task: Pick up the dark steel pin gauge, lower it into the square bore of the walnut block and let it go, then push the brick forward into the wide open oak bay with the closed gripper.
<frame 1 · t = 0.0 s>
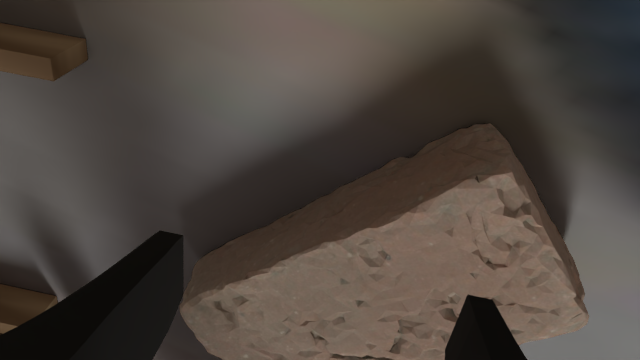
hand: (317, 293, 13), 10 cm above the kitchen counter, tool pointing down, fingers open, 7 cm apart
brick: (370, 250, 26), on the kitchen counter
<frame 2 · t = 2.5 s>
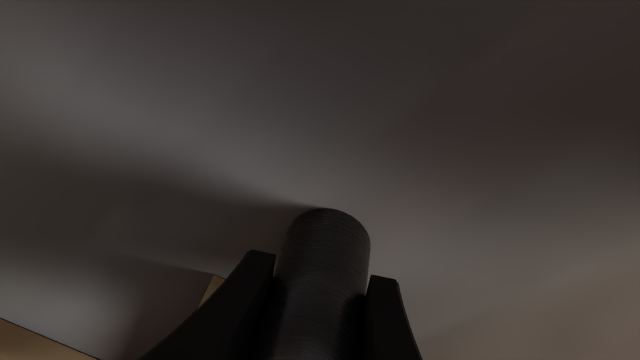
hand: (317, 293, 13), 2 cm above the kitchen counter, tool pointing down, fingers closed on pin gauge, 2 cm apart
pin gauge: (328, 243, 15), on the kitchen counter, touching gripper
when the fingers open (4 cm above the kitchen counter, at t = 5.0 s): pin gauge drops 2 cm, resting in walnut gauge block.
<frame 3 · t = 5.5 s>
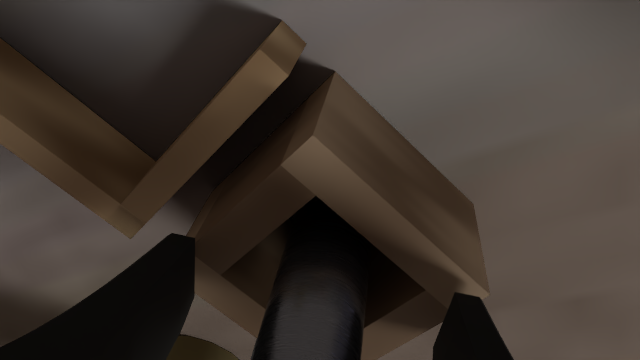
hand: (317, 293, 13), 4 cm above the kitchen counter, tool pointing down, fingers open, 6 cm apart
pin gauge: (338, 197, 17), resting in walnut gauge block
walnut gauge block: (338, 197, 17), on the kitchen counter
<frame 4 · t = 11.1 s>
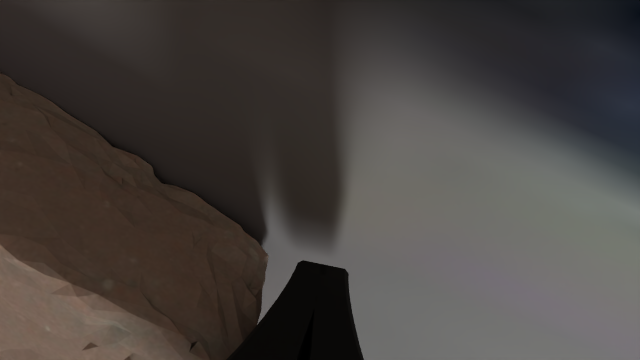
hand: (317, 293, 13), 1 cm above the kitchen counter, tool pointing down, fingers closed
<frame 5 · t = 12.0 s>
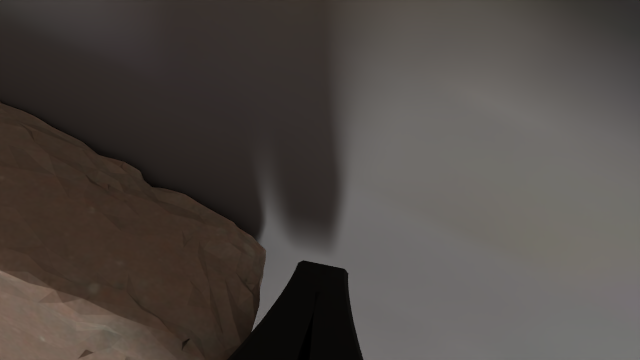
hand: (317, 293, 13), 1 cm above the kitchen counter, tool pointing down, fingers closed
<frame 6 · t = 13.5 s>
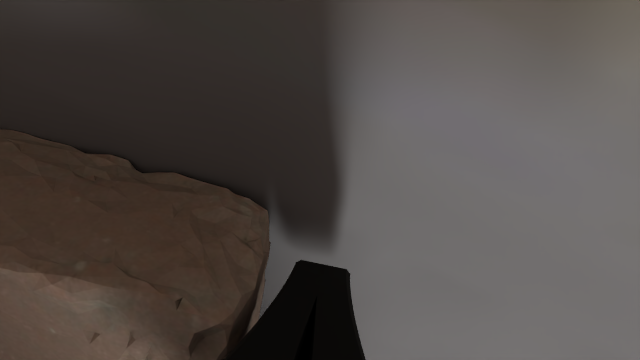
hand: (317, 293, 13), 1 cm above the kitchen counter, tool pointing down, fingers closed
brick: (9, 232, 16), on the kitchen counter, touching gripper
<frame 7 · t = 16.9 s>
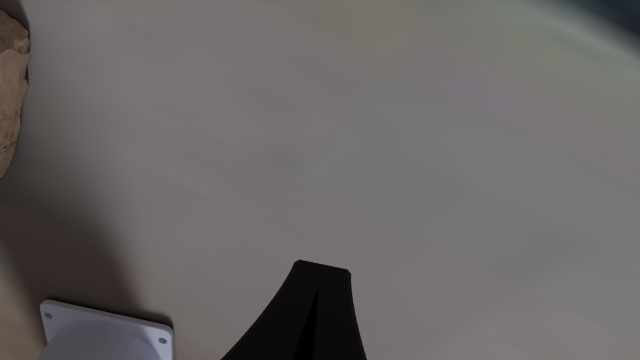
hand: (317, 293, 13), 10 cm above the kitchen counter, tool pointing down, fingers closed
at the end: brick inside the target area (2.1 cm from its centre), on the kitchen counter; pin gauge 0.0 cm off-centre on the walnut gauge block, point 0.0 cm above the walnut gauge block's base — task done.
